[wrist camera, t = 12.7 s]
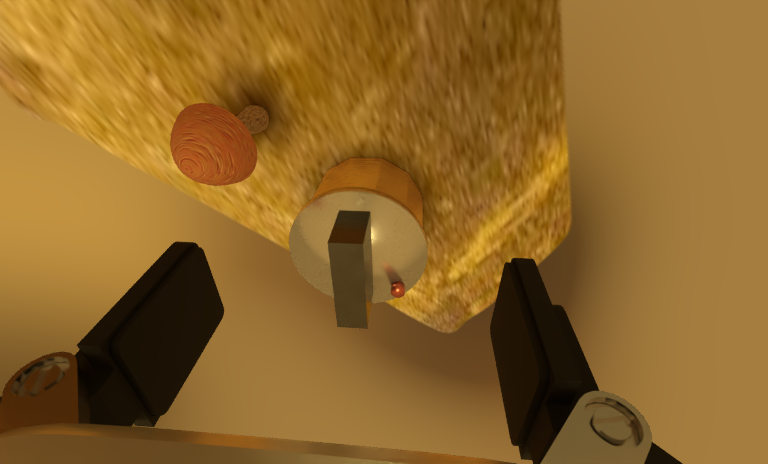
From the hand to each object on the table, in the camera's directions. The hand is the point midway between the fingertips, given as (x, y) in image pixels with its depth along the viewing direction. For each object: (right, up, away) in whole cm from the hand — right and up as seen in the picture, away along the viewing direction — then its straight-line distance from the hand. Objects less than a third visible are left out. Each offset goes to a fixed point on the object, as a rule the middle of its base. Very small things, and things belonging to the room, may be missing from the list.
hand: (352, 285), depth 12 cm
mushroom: (-14, +16, +32) cm, 38 cm away
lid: (-2, +1, +31) cm, 31 cm away
